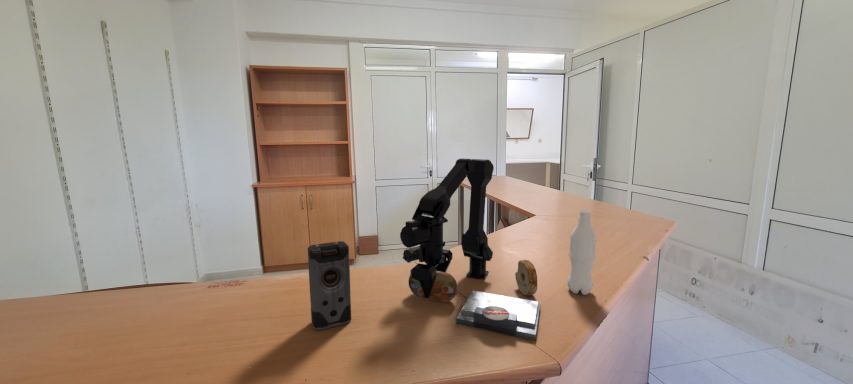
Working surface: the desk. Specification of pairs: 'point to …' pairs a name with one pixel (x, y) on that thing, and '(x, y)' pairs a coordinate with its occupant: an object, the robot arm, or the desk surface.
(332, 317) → the electronic device
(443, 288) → the tin
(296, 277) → the desk surface
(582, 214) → the water bottle
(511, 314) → the dial scale
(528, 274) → the stone disc
